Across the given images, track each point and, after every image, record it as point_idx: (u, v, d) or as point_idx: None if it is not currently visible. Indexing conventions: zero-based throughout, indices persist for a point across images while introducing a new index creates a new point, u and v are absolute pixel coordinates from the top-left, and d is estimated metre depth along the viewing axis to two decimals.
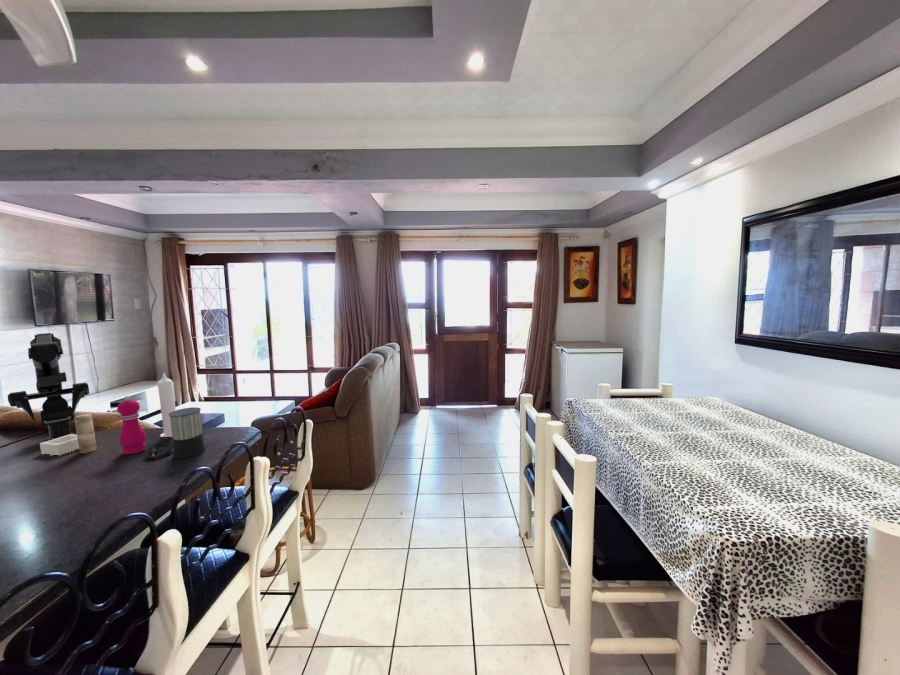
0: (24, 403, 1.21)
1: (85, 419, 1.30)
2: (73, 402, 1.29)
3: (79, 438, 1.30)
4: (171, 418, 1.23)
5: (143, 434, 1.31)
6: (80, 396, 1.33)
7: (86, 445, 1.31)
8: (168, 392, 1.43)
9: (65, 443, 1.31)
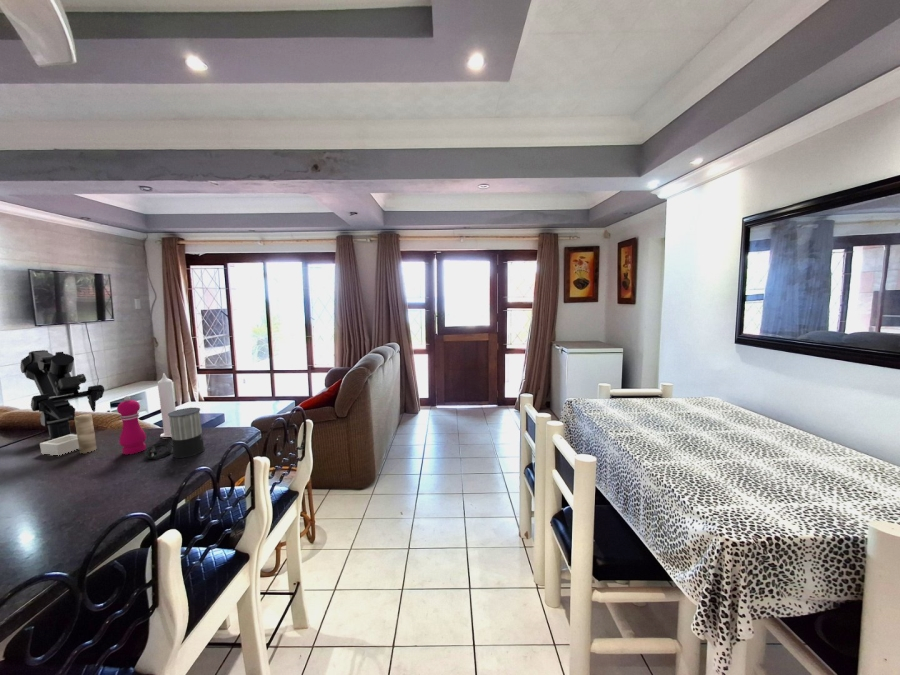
0: (49, 404, 1.30)
1: (85, 419, 1.30)
2: (92, 401, 1.39)
3: (79, 438, 1.30)
4: (170, 418, 1.23)
5: (143, 434, 1.31)
6: (95, 398, 1.43)
7: (86, 445, 1.31)
8: (168, 392, 1.43)
9: (65, 443, 1.31)
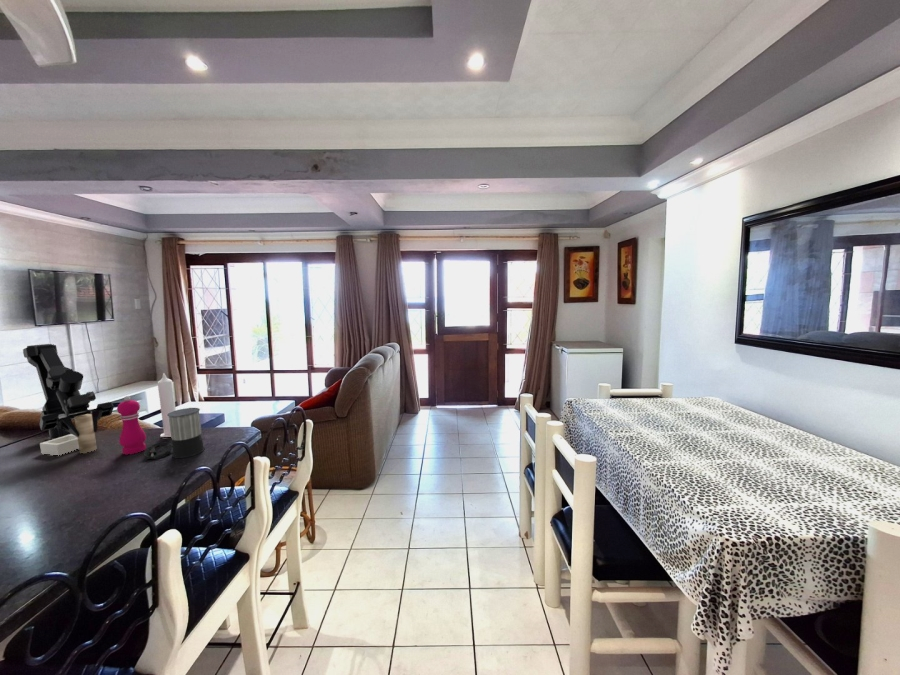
0: (67, 421, 1.29)
1: (85, 419, 1.30)
2: (94, 421, 1.34)
3: (79, 438, 1.30)
4: (170, 418, 1.23)
5: (143, 434, 1.31)
6: None
7: (86, 445, 1.31)
8: (168, 392, 1.43)
9: (65, 443, 1.31)
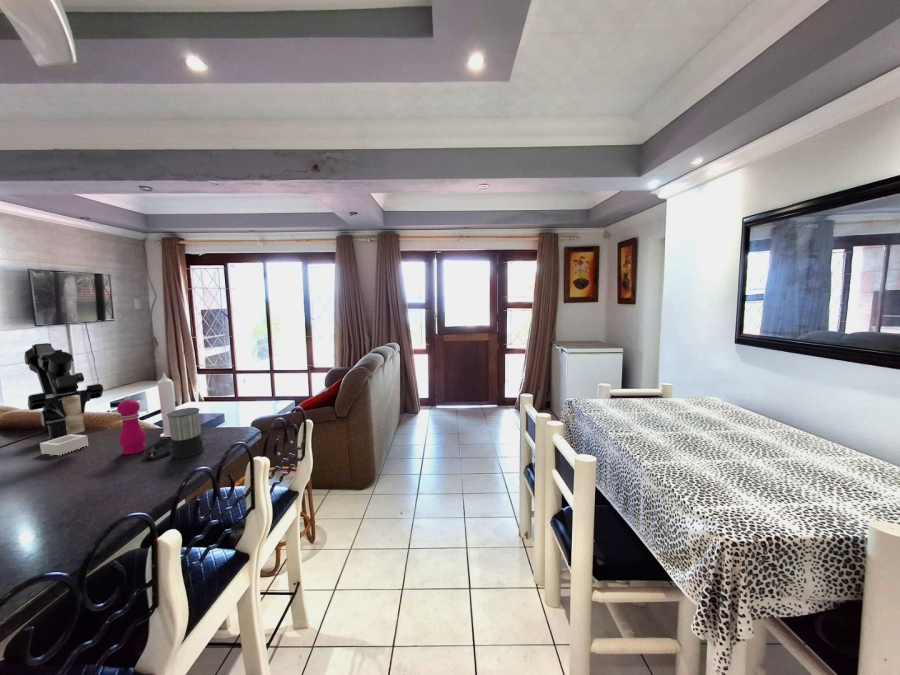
0: (54, 401, 1.29)
1: (72, 400, 1.30)
2: (82, 402, 1.34)
3: (66, 419, 1.30)
4: (170, 418, 1.23)
5: (143, 434, 1.31)
6: (86, 399, 1.38)
7: (73, 426, 1.31)
8: (168, 392, 1.43)
9: (65, 443, 1.31)
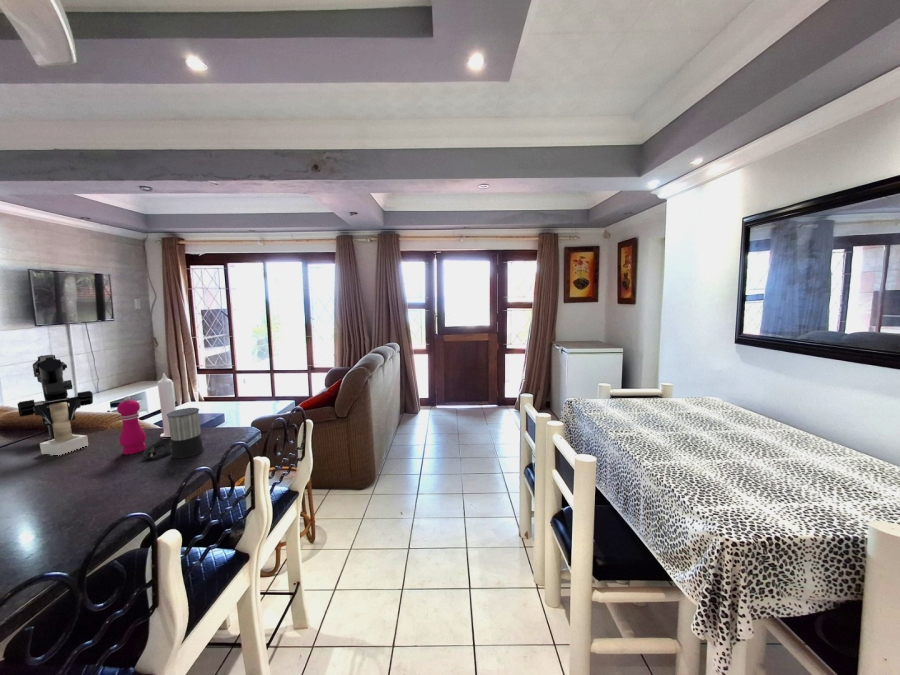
0: (42, 408, 1.31)
1: (59, 407, 1.31)
2: (70, 410, 1.35)
3: (53, 426, 1.31)
4: (169, 418, 1.23)
5: (143, 434, 1.31)
6: (76, 406, 1.39)
7: (59, 433, 1.32)
8: (168, 392, 1.43)
9: (65, 443, 1.31)
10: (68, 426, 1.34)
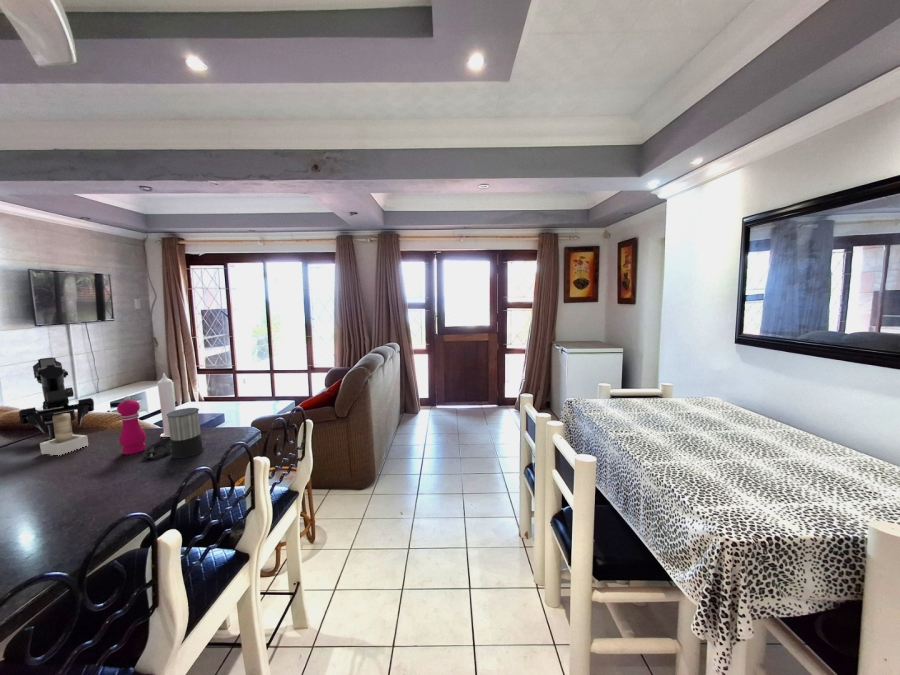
0: (36, 418, 1.30)
1: (62, 419, 1.32)
2: (78, 416, 1.37)
3: (56, 437, 1.32)
4: (169, 418, 1.23)
5: (143, 434, 1.31)
6: (84, 412, 1.41)
7: None
8: (168, 392, 1.43)
9: (65, 443, 1.31)
10: (70, 437, 1.34)
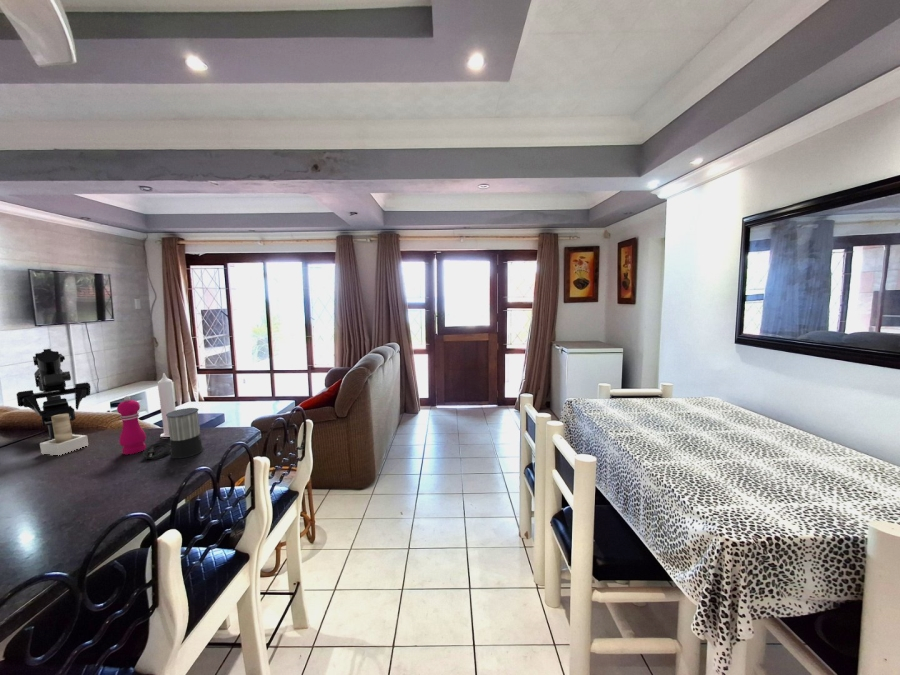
0: (32, 400, 1.32)
1: (60, 419, 1.32)
2: (76, 399, 1.40)
3: (55, 437, 1.32)
4: (168, 419, 1.22)
5: (143, 434, 1.31)
6: (82, 395, 1.44)
7: None
8: (168, 392, 1.43)
9: (65, 443, 1.31)
10: (70, 437, 1.34)
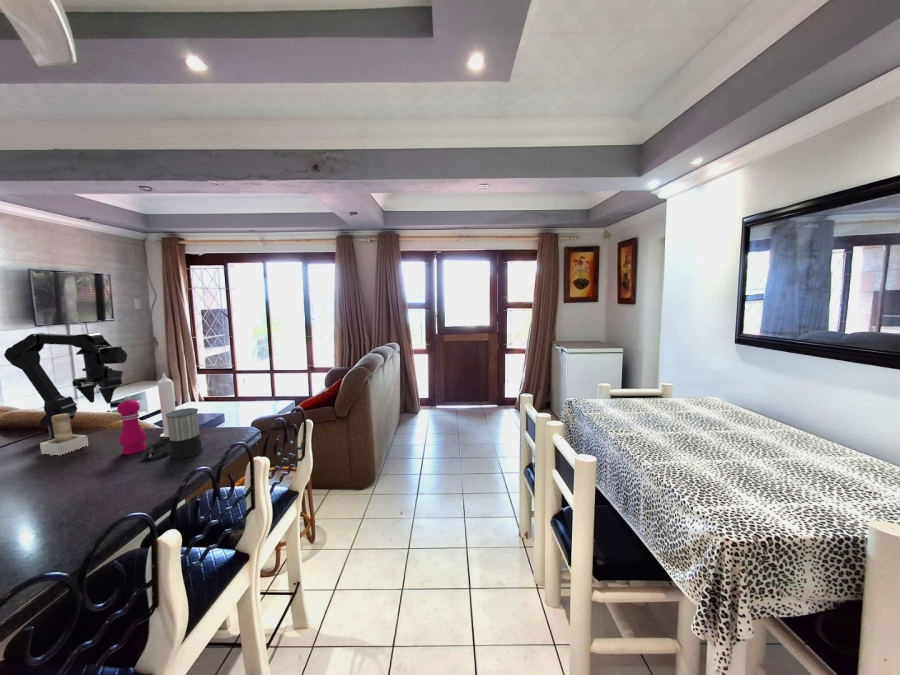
0: None
1: (61, 419, 1.32)
2: None
3: (55, 437, 1.32)
4: (168, 419, 1.22)
5: (143, 434, 1.31)
6: None
7: None
8: (168, 392, 1.43)
9: (65, 443, 1.31)
10: (70, 437, 1.34)
